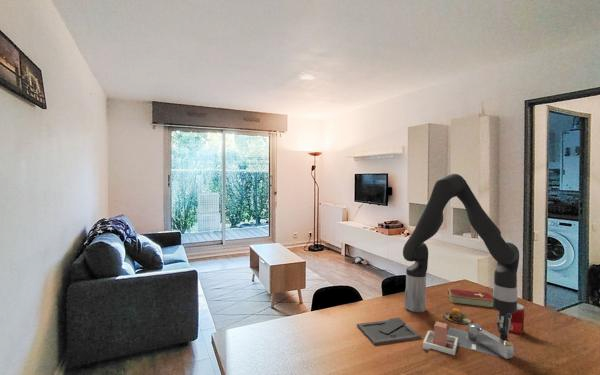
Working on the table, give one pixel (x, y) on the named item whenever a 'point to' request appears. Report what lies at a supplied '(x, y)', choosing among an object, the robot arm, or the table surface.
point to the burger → (457, 316)
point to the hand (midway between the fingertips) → (503, 342)
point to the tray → (428, 344)
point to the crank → (490, 340)
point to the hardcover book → (471, 297)
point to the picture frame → (388, 331)
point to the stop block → (440, 334)
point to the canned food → (517, 320)
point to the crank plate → (468, 342)
